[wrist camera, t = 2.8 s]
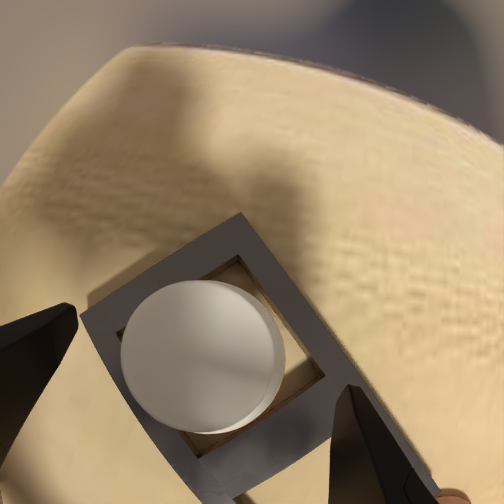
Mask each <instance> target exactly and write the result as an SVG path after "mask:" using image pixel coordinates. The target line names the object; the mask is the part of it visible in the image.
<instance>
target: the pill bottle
mask: <svg viewBox="0 0 504 504" xmlns="http://www.w3.org/2000/svg"><path fill="white" fill-rule="evenodd" d="M121 367H122V371H123V375H124V379H125V381H126V384H127V386H128V388H129V390H130V392H131V394H132V395H133V397H134V398H135V400H136V401H137V402H138V404H139V405H140V406H141V407H142V408H143V409H144V410H145V411H146V412H147V413H148V414H150V415H151V416H152V417H153V418H154V419H156V420H157V421H159V422H161V423H163V424H165V425H167V426H169V427H172V428H175V429H178V430H182V431H187V432H194V433H201V434H217V433H224V432H228V431H232V430H235V429H238V428H240V427H242V426H244V425H246V424H248V423H250V422H251V421H253V420H254V419H255V418H257V417H258V416H259V415H260V414H261V413H263V412H264V411H265V410H266V408H267V407H268V406H269V405H270V404H271V402H272V401H273V399H274V398H275V396H276V394H277V392H278V390H279V388H280V386H281V383H282V380H283V376H284V371H285V348H284V343H283V339H282V336H281V333H280V330H279V328H278V326H277V324H276V322H275V320H274V319H273V317H272V315H271V314H270V312H269V311H268V310H267V309H266V308H265V306H264V305H263V304H262V303H261V302H260V301H259V300H257V299H256V298H255V297H254V296H252V295H251V294H249V293H248V292H246V291H244V290H242V289H240V288H238V287H236V286H233V285H231V284H227V283H224V282H219V281H211V280H195V281H183V282H178V283H174V284H171V285H168V286H166V287H164V288H162V289H160V290H158V291H156V292H155V293H153V294H152V295H150V296H149V297H148V298H146V299H145V300H144V301H143V302H142V303H141V304H140V305H139V306H138V307H137V309H136V310H135V311H134V313H133V314H132V316H131V317H130V319H129V321H128V323H127V326H126V328H125V331H124V334H123V338H122V343H121Z"/></svg>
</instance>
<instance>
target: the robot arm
mask: <svg viewBox="0 0 504 504" xmlns="http://www.w3.org/2000/svg"><path fill="white" fill-rule="evenodd" d="M77 330H78V318H77V312H76V308H75V306H74V305H71V304H69V303H66V302H64V303H61V304H58V305H55V306H53V307H50V308H47V309H45V310H42V311H39V312H37V313H34V314H31V315H29V316H26V317H23V318H21V319H18V320H16V321H13V322H10V323H8V324H5V325H3V326H0V467H1V465H2V463H3V462H4V460H5V458H6V456H7V454H8V452H9V450H10V448H11V446H12V444H13V442H14V440H15V438H16V437H17V435H18V433H19V431H20V429H21V428H22V426H23V424H24V422H25V421H26V419H27V417H28V415H29V414H30V412H31V410H32V409H33V407H34V405H35V404H36V402H37V400H38V399H39V397H40V395H41V394H42V392H43V390H44V389H45V387H46V385H47V384H48V382H49V381H50V379H51V378H52V376H53V374H54V373H55V371H56V370H57V368H58V366H59V365H60V363H61V361H62V359H63V357H64V355H65V353H66V351H67V349H68V347H69V346H70V344H71V342H72V340H73V338H74V336H75V334H76V332H77ZM328 504H439V502H438V501H437V500H436V499H435V498H434V496H433V495H432V494H431V492H430V491H429V490H428V488H427V487H426V486H425V484H424V483H423V481H422V480H421V478H420V477H419V475H418V474H417V472H416V471H415V469H414V468H413V467H412V464H411V463H410V461H409V460H408V458H407V457H406V455H405V453H404V452H403V450H402V449H401V447H400V446H399V444H398V443H397V441H396V440H395V438H394V436H393V435H392V433H391V432H390V430H389V429H388V427H387V426H386V424H385V423H384V421H383V419H382V418H381V416H380V415H379V413H378V412H377V410H376V409H375V407H374V406H373V404H372V403H371V401H370V400H369V398H368V397H367V395H366V394H365V392H364V390H363V389H362V388H361V386H359V385H354V384H347V385H346V386H345V388H344V390H343V391H342V393H341V394H340V396H339V398H338V399H337V402H336V405H335V414H334V422H333V430H332V437H331V445H330V474H329V499H328Z"/></svg>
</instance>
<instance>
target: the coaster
mask: <svg viewBox="0 0 504 504" xmlns="http://www.w3.org/2000/svg"><path fill="white" fill-rule="evenodd" d="M435 499H436V500H437V501H438V502H439V504H470V503H469V502H468V501H467V500H464V499H462V498H460V497H457V496H440V497H436V498H435Z"/></svg>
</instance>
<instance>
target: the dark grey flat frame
mask: <svg viewBox="0 0 504 504" xmlns="http://www.w3.org/2000/svg"><path fill="white" fill-rule="evenodd" d="M238 260H239V262H240V263H241V265H242V266H243V268H244V269H245V270H246V272H247V273H248V275H249V276H250V277H251V279H252V280H253V282H254V283H255V285H256V286H257V287H258V289H259V290H260V292H261V293H262V294H263V296H264V297H265V299H266V300H267V301H268V303H269V304H270V306H271V307H272V308H273V310H274V311H275V313H276V314H277V315H278V317H279V318H280V320H281V321H282V322H283V324H284V325H285V327H286V328H287V329H288V331H289V332H290V334H291V335H292V336H293V338H294V339H295V340H296V342H297V343H298V345H299V346H300V347H301V349H302V350H303V352H304V353H305V354H306V356H307V357H308V358H309V360H310V361H311V363H312V364H313V365H314V367H315V368H316V369H317V371H318V372H319V374H320V375H319V376H318V377H317V378H315V379H314V380H313V381H311V382H310V383H309V384H307V385H306V386H305V387H303V388H302V389H300V390H299V391H298V392H296V393H295V394H293V395H292V396H291V397H289V398H288V399H286V400H285V401H283V402H282V403H281V404H279V405H278V406H276V407H275V408H273V409H272V410H270V411H269V412H267V413H266V414H264V415H263V416H261V417H260V418H258V419H256V420H255V421H253V422H252V423H250V424H249V425H247V426H245V427H244V428H242V429H241V430H239V431H237V432H236V433H234V434H232V435H231V436H229V437H227V438H226V439H224V440H222V441H221V442H219V443H217V444H215V445H214V446H212V447H210V448H208V449H207V450H205V451H203V452H201V453H200V451H199V450H198V449H197V448H196V446H195V445H194V444H193V442H192V441H191V440H190V438H189V437H188V436H187V434H186V433H185V432H184V431H182V430H178V429H175V428H172V427H169V426H167V425H165V424H163V423H161V422H159V421H157V420H156V419H154V418H153V417H152V416H151V415H150V414H148V413H147V412H146V411H145V410H144V409H143V408H142V407H141V406H140V405H139V404H138V402H137V401H136V400H135V398H134V397H133V395H132V394H131V392H130V390H129V388H128V386H127V384H126V381H125V379H124V375H123V371H122V367H121V343H122V338H123V334H124V331H125V328H126V326H127V323H128V321H129V319H130V317H131V316H132V314H133V313H134V311H135V310H136V309H137V307H138V306H139V305H140V304H141V303H142V302H143V301H144V300H145V299H146V298H148V297H149V296H150V295H152V294H153V293H155V292H156V291H158V290H160V289H162V288H164V287H166V286H168V285H171V284H174V283H178V282H183V281H195V280H209V279H210V278H212V277H213V276H215V275H217V274H218V273H220V272H221V271H223V270H224V269H226V268H227V267H229V266H231V265H232V264H234V263H235V262H237V261H238ZM80 318H81V320H82V322H83V324H84V326H85V328H86V330H87V332H88V334H89V336H90V338H91V340H92V342H93V344H94V346H95V348H96V350H97V352H98V354H99V355H100V357H101V359H102V361H103V363H104V365H105V366H106V368H107V370H108V372H109V374H110V375H111V377H112V379H113V381H114V382H115V384H116V386H117V387H118V389H119V391H120V392H121V394H122V396H123V397H124V399H125V401H126V402H127V404H128V405H129V407H130V408H131V410H132V412H133V413H134V415H135V416H136V418H137V419H138V421H139V422H140V424H141V425H142V427H143V428H144V430H145V431H146V432H147V434H148V435H149V437H150V438H151V440H152V441H153V442H154V444H155V445H156V447H157V448H158V449H159V451H160V452H161V453H162V455H163V456H164V457H165V459H166V460H167V461H168V463H169V464H170V465H171V466H172V468H173V469H174V470H175V472H176V473H177V474H178V475H179V476H180V478H181V479H182V480H183V481H184V483H185V484H186V485H187V486H188V487H189V489H190V490H191V491H192V492H193V493H194V494H195V496H196V497H197V498H198V499H199V500H200V501H201V502H202V503H203V504H243V502H242V501H241V500H240V499H239V498H238V497H237V496H239V495H240V494H242V493H244V492H246V491H248V490H250V489H251V488H253V487H255V486H257V485H258V484H260V483H262V482H264V481H265V480H267V479H269V478H270V477H272V476H274V475H275V474H277V473H279V472H280V471H282V470H283V469H285V468H287V467H288V466H290V465H291V464H293V463H294V462H296V461H297V460H299V459H300V458H302V457H303V456H305V455H306V454H308V453H309V452H311V451H312V450H314V449H315V448H316V447H318V446H319V445H321V444H322V443H323V442H325V441H326V440H327V439H329V438H330V437H332V430H333V422H334V414H335V405H336V402H337V399H338V398H339V396H340V394H341V393H342V391H343V390H344V388H345V386H346V385H347V384H354V385H359V386H361V388H362V389H363V390H364V392H365V394H366V395H367V397H368V398H369V400H370V401H371V403H372V404H373V406H374V407H375V409H376V410H377V412H378V413H379V415H380V416H381V418H382V419H383V421H384V423H385V424H386V426H387V427H388V429H389V430H390V432H391V433H392V435H393V436H394V438H395V440H396V441H397V443H398V444H399V446H400V447H401V449H402V450H403V452H404V453H405V455H406V457H407V458H408V460H409V461H410V463H411V464H412V467H413V468H414V469H415V471H416V472H417V474H418V475H419V477H420V478H421V480H422V481H423V483H424V484H425V486H426V487H427V488H428V490H429V491H430V492H431V494H432V495H433V496H434V497H435V496H436V495H437V494H439V493H440V492H441V490H440V489H439V488H438V486H437V485H436V483H435V482H434V480H433V479H432V477H431V476H430V474H429V473H428V471H427V470H426V469H425V467H424V466H423V464H422V463H421V461H420V460H419V458H418V457H417V455H416V454H415V453H414V451H413V450H412V448H411V447H410V445H409V444H408V442H407V441H406V440H405V438H404V437H403V435H402V434H401V432H400V431H399V430H398V428H397V427H396V425H395V424H394V422H393V421H392V420H391V418H390V417H389V415H388V414H387V412H386V411H385V410H384V408H383V407H382V405H381V404H380V403H379V401H378V400H377V398H376V397H375V395H374V394H373V393H372V391H371V390H370V388H369V387H368V386H367V384H366V383H365V381H364V380H363V379H362V377H361V376H360V374H359V373H358V372H357V370H356V369H355V367H354V366H353V365H352V363H351V362H350V360H349V359H348V358H347V356H346V355H345V353H344V352H343V351H342V349H341V348H340V346H339V345H338V344H337V342H336V341H335V339H334V338H333V337H332V335H331V334H330V333H329V331H328V330H327V328H326V327H325V326H324V324H323V323H322V321H321V320H320V319H319V317H318V316H317V315H316V313H315V312H314V310H313V309H312V308H311V306H310V305H309V304H308V302H307V301H306V299H305V298H304V297H303V295H302V294H301V293H300V291H299V290H298V289H297V287H296V286H295V284H294V283H293V282H292V280H291V279H290V278H289V276H288V275H287V274H286V272H285V271H284V269H283V268H282V267H281V265H280V264H279V263H278V261H277V260H276V259H275V257H274V256H273V255H272V253H271V252H270V250H269V249H268V248H267V246H266V245H265V244H264V242H263V241H262V240H261V238H260V237H259V236H258V234H257V233H256V232H255V230H254V229H253V228H252V226H251V225H250V224H249V222H248V221H247V220H246V218H245V217H244V216H243V214H242V213H241V212H240V213H238V214H237V215H235V216H233V217H232V218H230V219H228V220H227V221H225V222H223V223H222V224H220V225H218V226H217V227H215V228H213V229H212V230H210V231H209V232H207V233H205V234H204V235H202V236H200V237H199V238H197V239H196V240H194V241H192V242H191V243H189V244H188V245H186V246H184V247H183V248H181V249H180V250H178V251H176V252H175V253H173V254H172V255H170V256H168V257H167V258H165V259H164V260H162V261H161V262H159V263H157V264H156V265H154V266H153V267H151V268H150V269H148V270H147V271H145V272H143V273H142V274H140V275H139V276H137V277H136V278H134V279H133V280H131V281H130V282H128V283H127V284H125V285H124V286H122V287H120V288H119V289H117V290H116V291H114V292H113V293H111V294H110V295H108V296H107V297H105V298H104V299H102V300H101V301H99V302H98V303H96V304H95V305H93V306H92V307H90V308H89V309H88V310H86V311H85V312H83V313H82V314H80Z"/></svg>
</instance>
